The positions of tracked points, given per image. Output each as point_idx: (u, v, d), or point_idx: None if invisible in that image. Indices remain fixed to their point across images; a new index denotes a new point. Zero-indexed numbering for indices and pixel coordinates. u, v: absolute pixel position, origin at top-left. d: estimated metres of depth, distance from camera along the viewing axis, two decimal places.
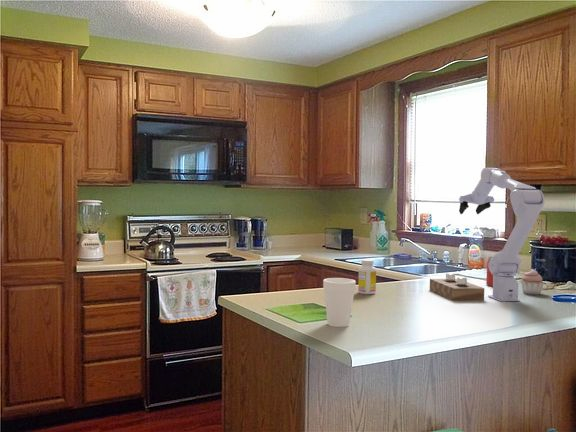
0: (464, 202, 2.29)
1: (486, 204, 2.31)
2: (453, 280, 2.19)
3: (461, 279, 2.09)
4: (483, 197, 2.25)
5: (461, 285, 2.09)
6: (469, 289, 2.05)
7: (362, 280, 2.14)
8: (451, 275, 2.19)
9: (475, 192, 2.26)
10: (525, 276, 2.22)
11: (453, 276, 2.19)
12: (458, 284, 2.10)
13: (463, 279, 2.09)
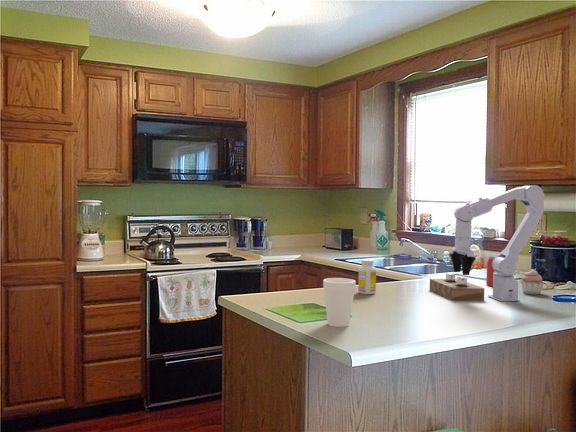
0: None
1: None
2: (453, 280, 2.19)
3: (461, 279, 2.09)
4: None
5: (461, 285, 2.09)
6: (469, 289, 2.05)
7: (362, 280, 2.14)
8: (451, 275, 2.19)
9: (467, 239, 2.08)
10: (525, 276, 2.22)
11: (453, 276, 2.19)
12: (458, 284, 2.10)
13: (463, 279, 2.09)
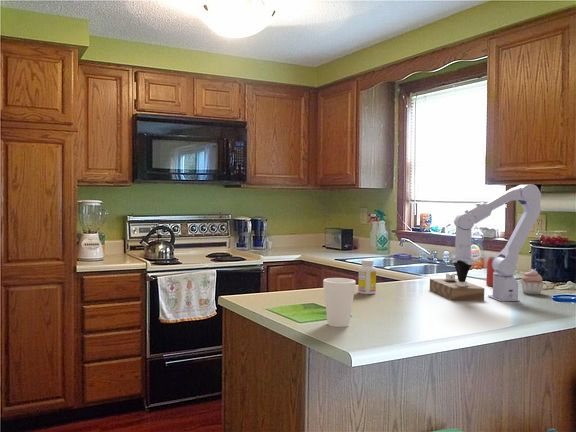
0: None
1: None
2: (453, 280, 2.19)
3: (461, 283, 2.09)
4: None
5: None
6: (469, 289, 2.05)
7: (362, 280, 2.14)
8: (451, 275, 2.19)
9: (467, 247, 2.08)
10: (525, 276, 2.22)
11: (453, 276, 2.19)
12: None
13: (463, 283, 2.09)
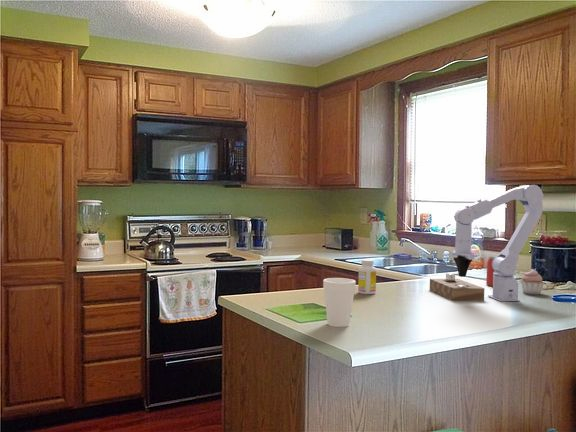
0: None
1: None
2: (453, 280, 2.19)
3: None
4: None
5: None
6: (469, 289, 2.05)
7: (362, 280, 2.14)
8: (451, 275, 2.19)
9: (467, 242, 2.08)
10: (525, 276, 2.22)
11: (453, 276, 2.19)
12: None
13: None
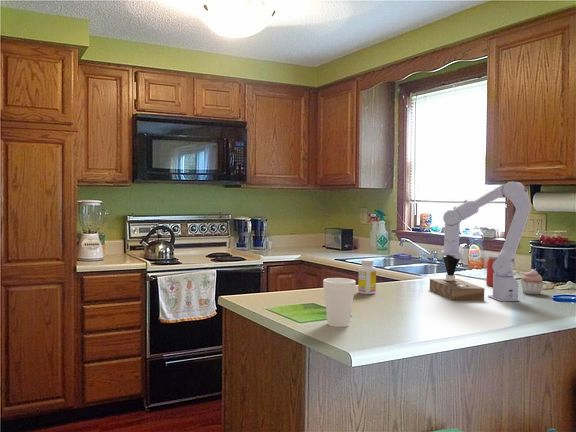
0: None
1: None
2: (453, 281, 2.19)
3: None
4: None
5: None
6: (469, 289, 2.05)
7: (362, 280, 2.14)
8: (451, 276, 2.19)
9: (455, 242, 2.18)
10: (525, 276, 2.22)
11: (453, 277, 2.19)
12: None
13: None
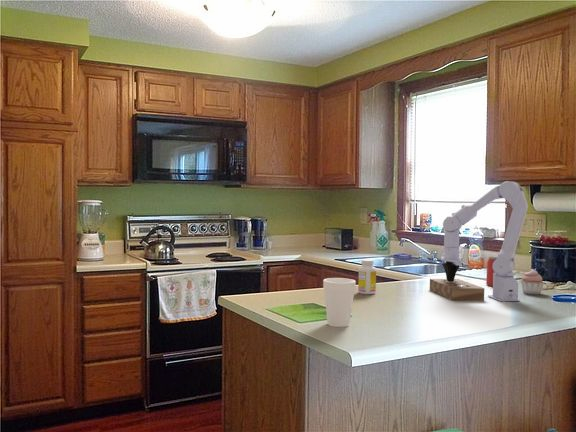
0: None
1: None
2: None
3: None
4: None
5: None
6: (469, 289, 2.05)
7: (362, 280, 2.14)
8: None
9: (455, 249, 2.18)
10: (525, 276, 2.22)
11: None
12: None
13: None
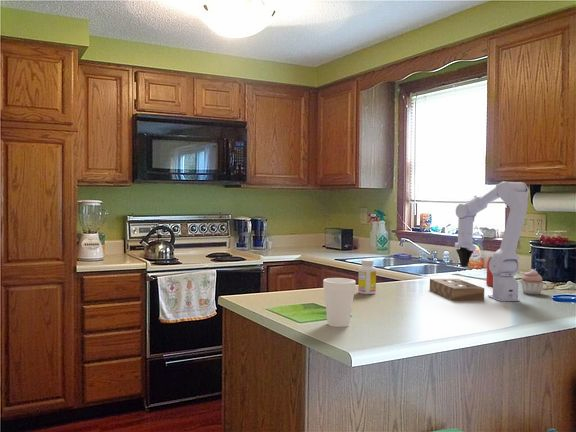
0: None
1: None
2: None
3: None
4: None
5: None
6: (469, 289, 2.05)
7: (362, 280, 2.14)
8: None
9: (469, 235, 2.26)
10: (525, 276, 2.22)
11: None
12: None
13: None
